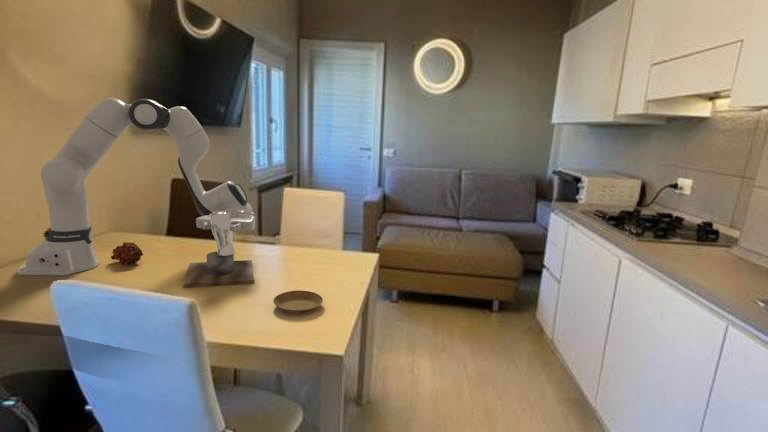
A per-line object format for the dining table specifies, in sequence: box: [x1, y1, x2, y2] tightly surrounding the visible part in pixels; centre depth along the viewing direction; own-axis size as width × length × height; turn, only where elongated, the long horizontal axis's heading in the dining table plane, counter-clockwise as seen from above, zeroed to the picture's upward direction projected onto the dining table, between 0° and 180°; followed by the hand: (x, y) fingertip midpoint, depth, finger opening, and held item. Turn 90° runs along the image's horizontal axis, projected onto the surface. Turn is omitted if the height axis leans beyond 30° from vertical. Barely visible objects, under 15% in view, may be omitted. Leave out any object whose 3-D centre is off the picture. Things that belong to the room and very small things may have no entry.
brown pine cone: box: [110, 241, 144, 265], centre depth 160 cm, size 8×8×12 cm
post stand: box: [183, 251, 255, 288], centre depth 154 cm, size 22×22×7 cm
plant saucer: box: [272, 290, 324, 316], centre depth 131 cm, size 15×15×3 cm
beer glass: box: [210, 211, 236, 257], centre depth 152 cm, size 7×7×15 cm
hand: (218, 228), depth 150 cm, fingers open, 8 cm apart
